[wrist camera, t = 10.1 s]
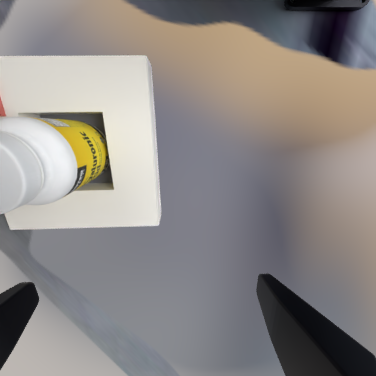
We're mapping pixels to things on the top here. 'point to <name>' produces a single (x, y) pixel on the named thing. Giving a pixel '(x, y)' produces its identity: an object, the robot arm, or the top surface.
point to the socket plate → (100, 118)
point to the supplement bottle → (47, 159)
